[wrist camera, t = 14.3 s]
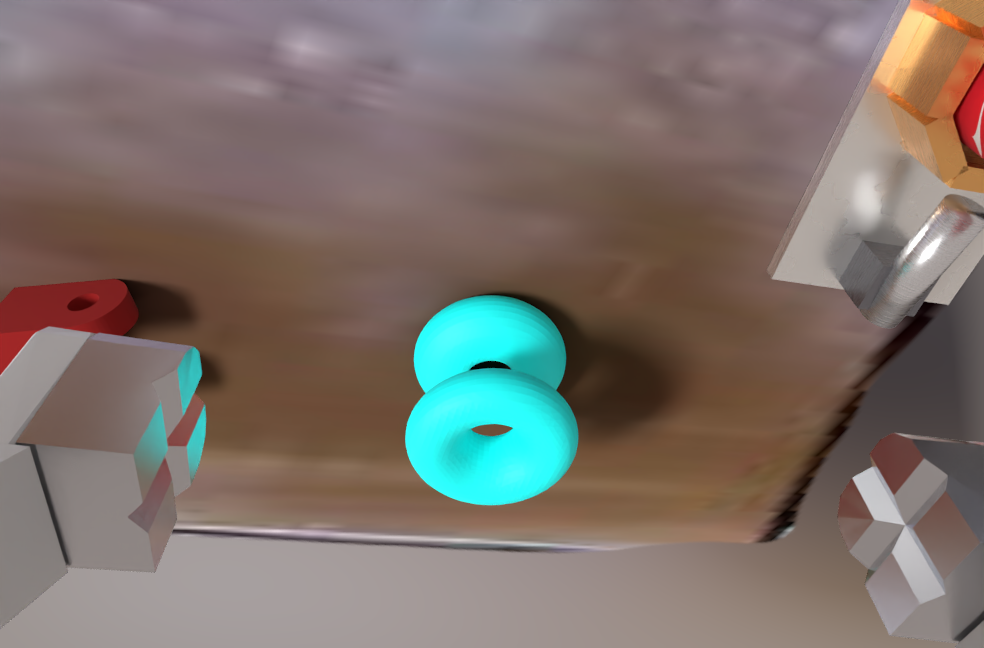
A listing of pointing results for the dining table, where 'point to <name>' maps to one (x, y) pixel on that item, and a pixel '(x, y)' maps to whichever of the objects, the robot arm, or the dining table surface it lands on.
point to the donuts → (491, 402)
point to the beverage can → (972, 115)
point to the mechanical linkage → (64, 312)
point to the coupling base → (898, 173)
